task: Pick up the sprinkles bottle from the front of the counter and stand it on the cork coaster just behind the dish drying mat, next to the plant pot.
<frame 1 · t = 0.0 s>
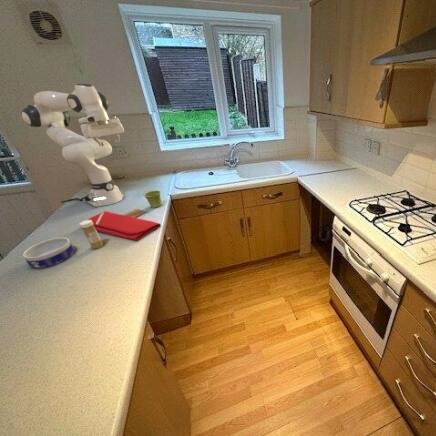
hand: (110, 144, 134), 39 cm above the worktop, tool pointing down, fingers open, 8 cm apart
sprinkles bottle: (98, 246, 114), on the worktop
dish drying mat: (121, 227, 130), on the worktop
plant pot: (156, 206, 152), on the worktop
dog bowl: (53, 258, 107), on the worktop
coaster: (134, 214, 143), on the worktop
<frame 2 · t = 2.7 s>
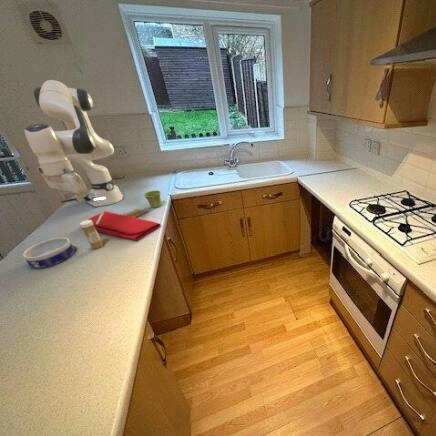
hand: (74, 199, 102), 24 cm above the worktop, tool pointing down, fingers open, 8 cm apart
nothing on the worktop moved.
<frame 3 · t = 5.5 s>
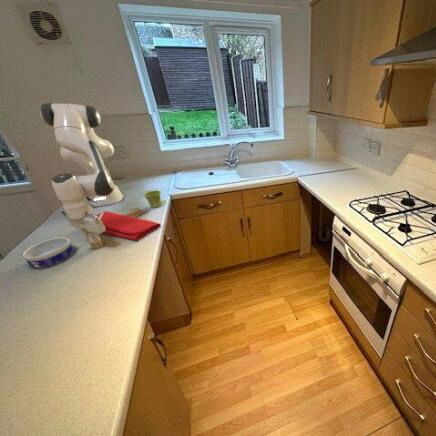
hand: (93, 237, 112), 5 cm above the worktop, tool pointing down, fingers closed on sprinkles bottle, 4 cm apart
sprinkles bottle: (98, 246, 114), on the worktop, touching gripper
everything else where it was.
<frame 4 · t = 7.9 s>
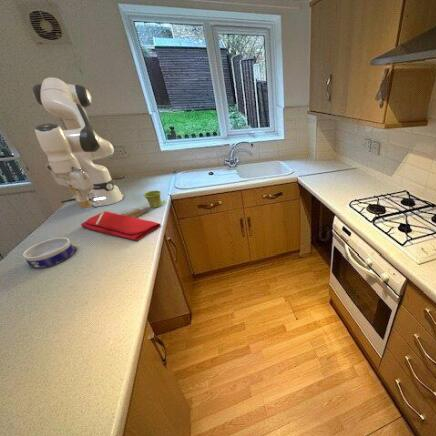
hand: (81, 196, 106), 24 cm above the worktop, tool pointing down, fingers closed on sprinkles bottle, 4 cm apart
sprinkles bottle: (86, 207, 109), point 19 cm above the worktop, touching gripper
everything else where it was.
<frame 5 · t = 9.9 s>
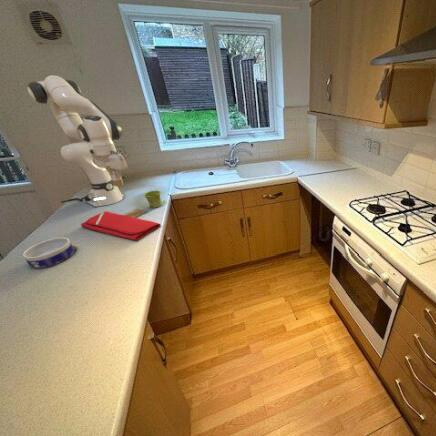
hand: (115, 176, 129), 25 cm above the worktop, tool pointing down, fingers closed on sprinkles bottle, 4 cm apart
sprinkles bottle: (119, 185, 131), point 19 cm above the worktop, touching gripper
everything else where it was.
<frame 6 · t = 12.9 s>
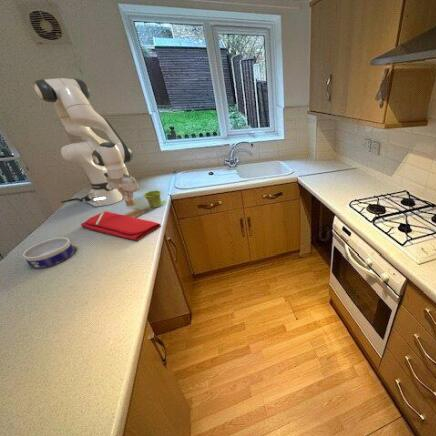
hand: (127, 196, 137), 11 cm above the worktop, tool pointing down, fingers closed on sprinkles bottle, 4 cm apart
sprinkles bottle: (131, 205, 140), point 6 cm above the worktop, touching gripper
everything else where it was.
when the fingers open (5 cm above the worktop, at t = 14.8 s): sprinkles bottle stays where it is, resting on coaster.
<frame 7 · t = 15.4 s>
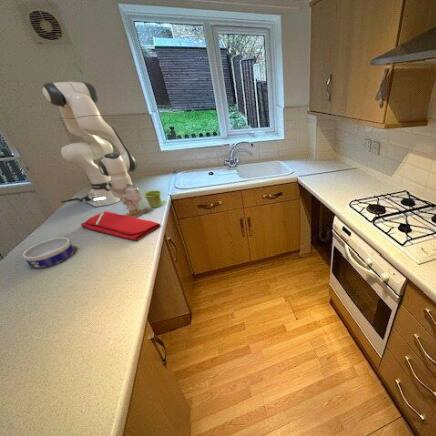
hand: (131, 205, 140), 6 cm above the worktop, tool pointing down, fingers open, 8 cm apart
sprinkles bottle: (134, 213, 143), resting on coaster
everything else where it was.
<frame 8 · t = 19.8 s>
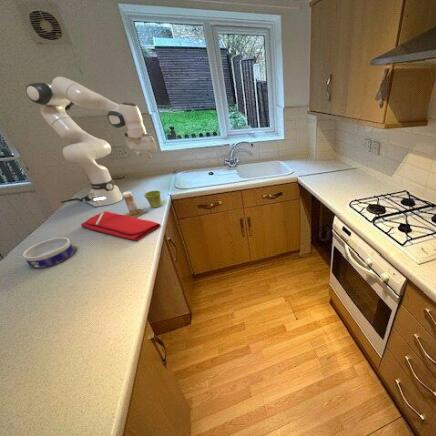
hand: (145, 157, 146), 29 cm above the worktop, tool pointing down, fingers open, 8 cm apart
nothing on the worktop moved.
at the end: sprinkles bottle inside the target area on the worktop beside the dish drying mat (1.5 cm from its centre), resting on coaster; sprinkles bottle tilted 0°; sprinkles bottle 13.3 cm from the plant pot (horizontally) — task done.
